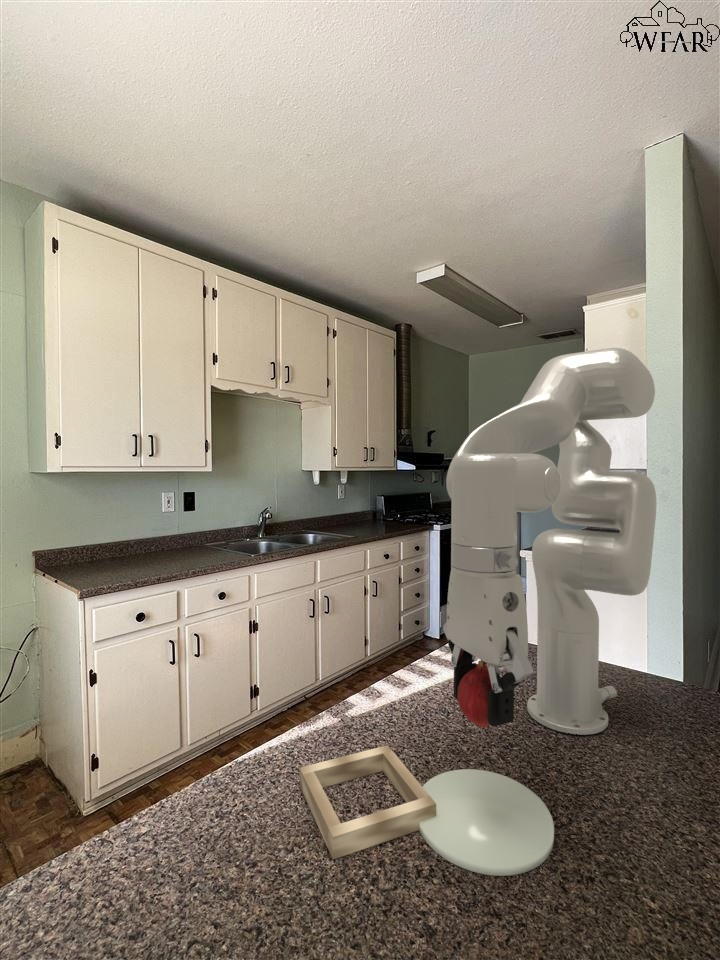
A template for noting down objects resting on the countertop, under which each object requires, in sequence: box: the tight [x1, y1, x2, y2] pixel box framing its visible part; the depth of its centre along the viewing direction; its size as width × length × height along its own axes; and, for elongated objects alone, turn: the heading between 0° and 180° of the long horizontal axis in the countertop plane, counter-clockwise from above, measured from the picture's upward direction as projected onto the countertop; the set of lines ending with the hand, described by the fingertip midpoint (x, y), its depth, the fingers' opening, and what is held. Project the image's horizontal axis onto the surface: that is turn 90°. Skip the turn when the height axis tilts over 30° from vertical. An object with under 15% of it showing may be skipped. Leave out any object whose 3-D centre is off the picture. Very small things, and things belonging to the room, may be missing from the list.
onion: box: [457, 660, 492, 729], centre depth 58 cm, size 6×6×8 cm
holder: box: [299, 744, 436, 860], centre depth 61 cm, size 13×13×2 cm
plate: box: [418, 768, 555, 877], centre depth 58 cm, size 16×16×1 cm
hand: (482, 707), depth 58 cm, fingers closed on onion, 5 cm apart
